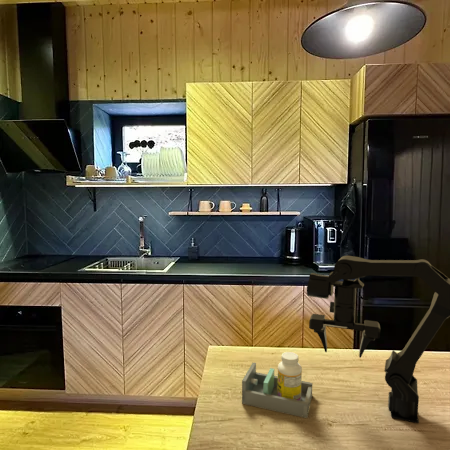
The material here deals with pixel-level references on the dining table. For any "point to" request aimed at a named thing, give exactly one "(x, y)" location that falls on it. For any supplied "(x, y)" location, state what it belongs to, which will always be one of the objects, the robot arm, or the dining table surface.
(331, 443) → the dining table surface
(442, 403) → the dining table surface
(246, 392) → the tray
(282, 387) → the supplement bottle
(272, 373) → the pusher plate
